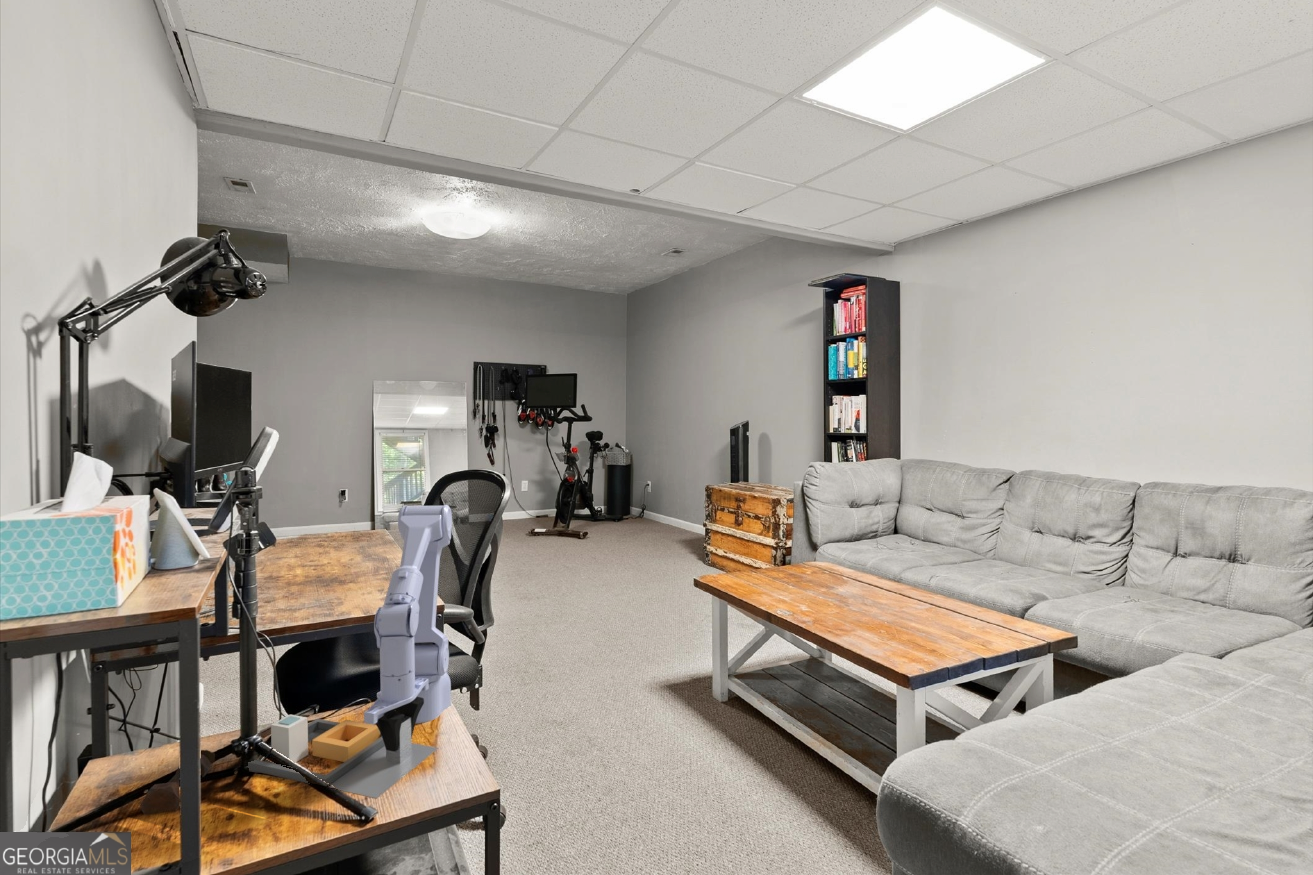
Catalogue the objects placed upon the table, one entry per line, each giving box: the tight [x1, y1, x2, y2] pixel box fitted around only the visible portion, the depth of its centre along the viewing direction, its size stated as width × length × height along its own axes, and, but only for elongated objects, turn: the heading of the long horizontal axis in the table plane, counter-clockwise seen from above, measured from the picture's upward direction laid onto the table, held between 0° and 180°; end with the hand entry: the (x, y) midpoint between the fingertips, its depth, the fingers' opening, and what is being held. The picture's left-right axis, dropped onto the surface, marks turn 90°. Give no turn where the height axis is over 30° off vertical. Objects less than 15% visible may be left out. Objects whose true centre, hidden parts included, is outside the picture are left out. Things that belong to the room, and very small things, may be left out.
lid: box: [330, 742, 439, 800], centre depth 111 cm, size 16×11×1 cm, turn 163°
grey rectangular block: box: [386, 716, 412, 764], centre depth 114 cm, size 3×3×7 cm
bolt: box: [139, 749, 216, 816], centre depth 106 cm, size 6×5×15 cm
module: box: [270, 714, 309, 764], centre depth 114 cm, size 4×4×7 cm
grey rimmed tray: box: [248, 718, 385, 785], centre depth 116 cm, size 16×18×4 cm
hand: (398, 744), depth 114 cm, fingers closed on grey rectangular block, 3 cm apart
